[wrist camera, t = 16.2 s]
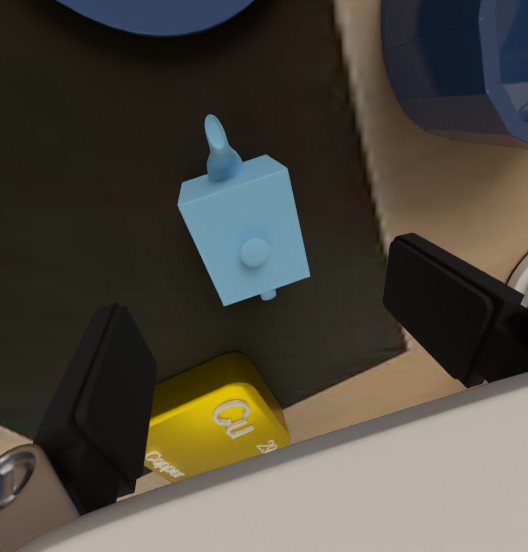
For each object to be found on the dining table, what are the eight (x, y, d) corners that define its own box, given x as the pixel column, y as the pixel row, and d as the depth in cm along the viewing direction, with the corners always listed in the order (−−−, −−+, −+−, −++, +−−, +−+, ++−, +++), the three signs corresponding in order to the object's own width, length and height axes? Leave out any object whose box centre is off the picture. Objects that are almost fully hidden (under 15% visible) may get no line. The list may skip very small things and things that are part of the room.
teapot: (160, 128, 18) (140, 137, 11) (249, 99, 18) (278, 92, 12) (224, 275, 24) (233, 334, 18) (288, 253, 24) (320, 303, 18)
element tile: (114, 401, 29) (100, 447, 25) (240, 344, 29) (247, 382, 25) (186, 456, 38) (185, 497, 34) (286, 412, 37) (296, 449, 33)
